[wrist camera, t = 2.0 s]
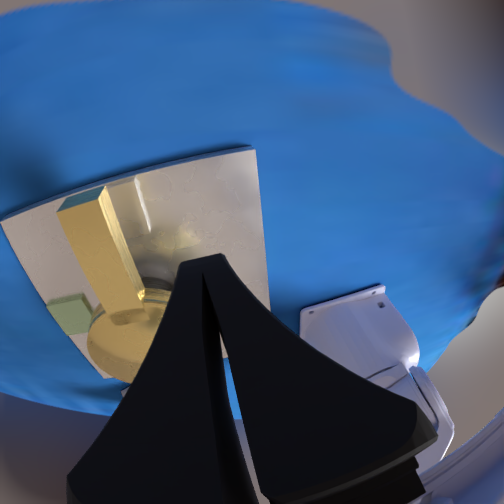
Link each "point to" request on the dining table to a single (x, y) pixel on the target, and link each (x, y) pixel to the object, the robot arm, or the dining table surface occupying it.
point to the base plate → (151, 232)
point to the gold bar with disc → (111, 285)
